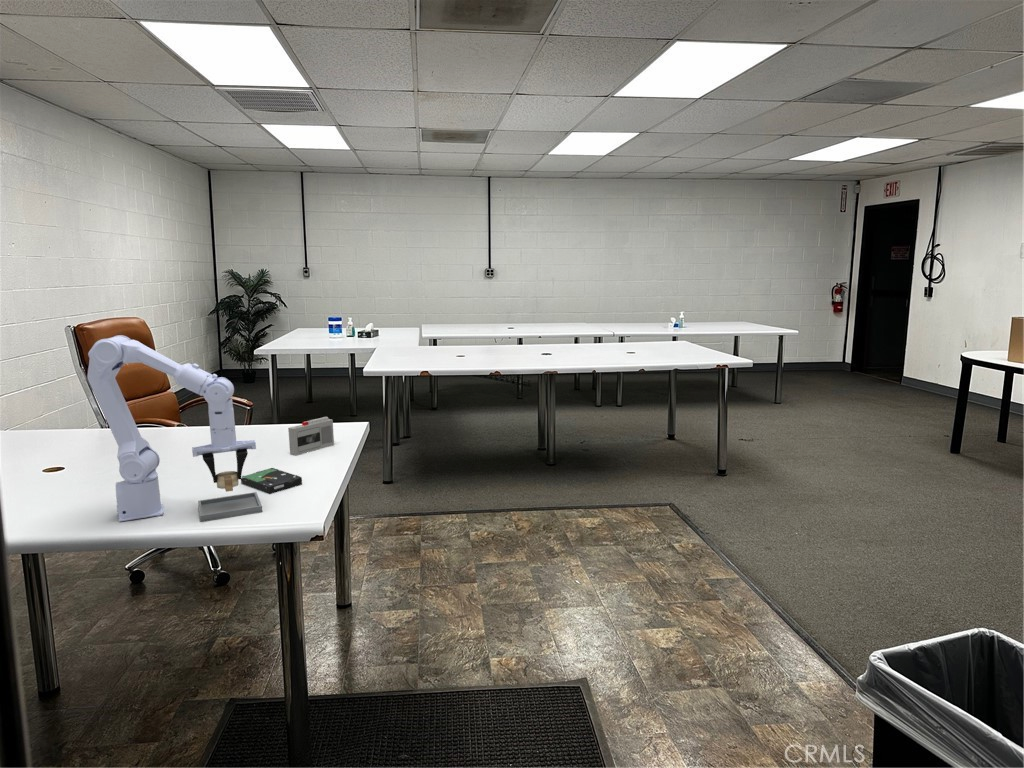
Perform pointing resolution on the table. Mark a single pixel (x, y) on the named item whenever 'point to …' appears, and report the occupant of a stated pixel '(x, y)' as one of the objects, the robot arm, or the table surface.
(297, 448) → the cassette player
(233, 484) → the tabbed cylinder
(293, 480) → the disk drive
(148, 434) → the table surface
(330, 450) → the table surface
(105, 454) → the table surface
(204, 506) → the tray
